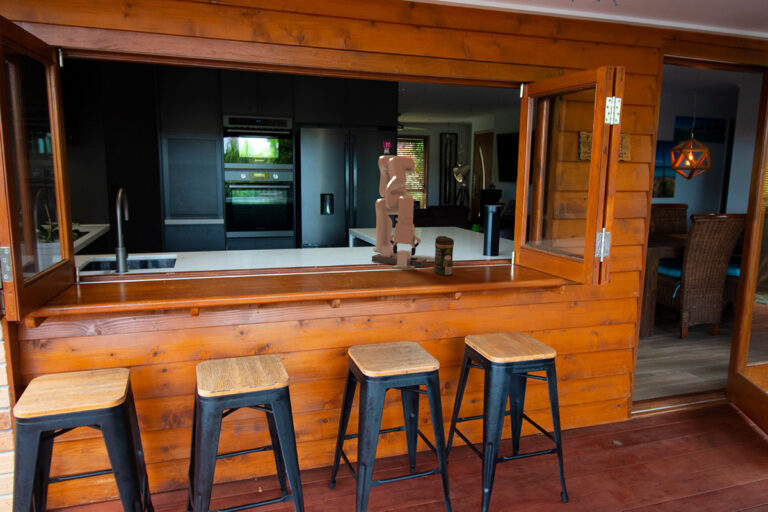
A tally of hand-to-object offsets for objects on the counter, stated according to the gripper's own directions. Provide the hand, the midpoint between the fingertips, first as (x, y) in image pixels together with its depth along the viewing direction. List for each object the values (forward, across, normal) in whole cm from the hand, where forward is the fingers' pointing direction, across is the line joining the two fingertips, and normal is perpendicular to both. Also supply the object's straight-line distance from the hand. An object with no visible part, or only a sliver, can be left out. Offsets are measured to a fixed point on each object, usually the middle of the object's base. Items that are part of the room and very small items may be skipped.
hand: (404, 254), depth 266 cm
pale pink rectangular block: (+6, 0, 0) cm, 6 cm away
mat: (+7, 0, 0) cm, 7 cm away
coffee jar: (+7, +22, -3) cm, 23 cm away
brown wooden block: (+7, -14, +10) cm, 19 cm away
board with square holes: (+7, -7, +10) cm, 14 cm away
